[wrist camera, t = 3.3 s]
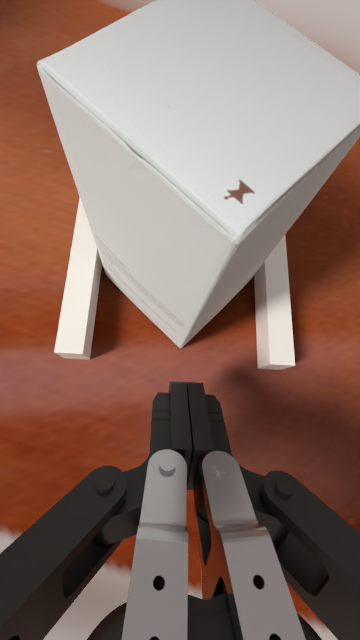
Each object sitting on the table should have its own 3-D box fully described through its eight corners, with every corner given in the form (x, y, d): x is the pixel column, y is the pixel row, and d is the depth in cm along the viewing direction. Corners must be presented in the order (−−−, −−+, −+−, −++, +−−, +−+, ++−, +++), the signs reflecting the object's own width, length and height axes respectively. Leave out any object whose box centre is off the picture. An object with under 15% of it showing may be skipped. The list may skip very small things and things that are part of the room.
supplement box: (253, 279, 20) (405, 96, 8) (179, 352, 18) (236, 249, 6) (179, 211, 21) (219, -42, 9) (101, 273, 19) (22, 53, 7)
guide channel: (64, 358, 18) (23, 335, 12) (106, 87, 24) (92, -13, 18) (280, 369, 19) (338, 353, 13) (264, 108, 25) (298, 21, 19)
